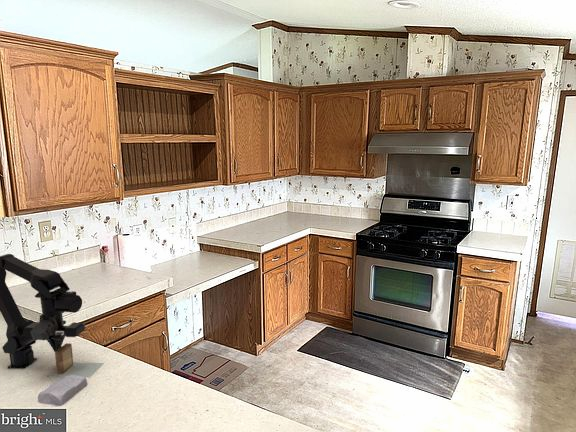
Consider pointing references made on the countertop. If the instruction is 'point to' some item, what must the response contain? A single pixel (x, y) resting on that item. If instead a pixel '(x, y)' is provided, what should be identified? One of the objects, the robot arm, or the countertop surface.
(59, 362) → the walnut tile
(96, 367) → the rubber mat
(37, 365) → the countertop surface
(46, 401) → the stone block
